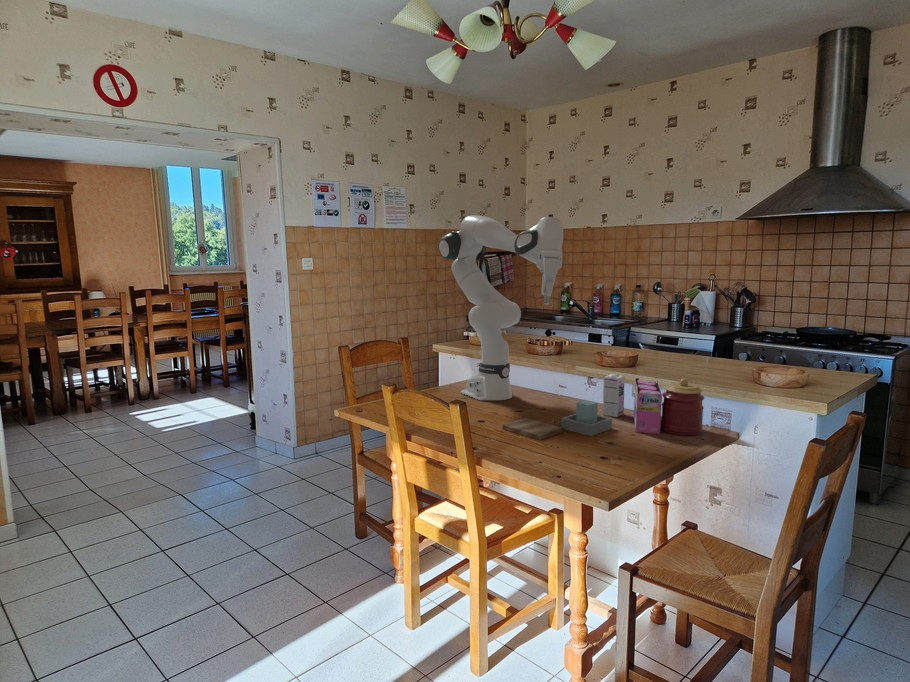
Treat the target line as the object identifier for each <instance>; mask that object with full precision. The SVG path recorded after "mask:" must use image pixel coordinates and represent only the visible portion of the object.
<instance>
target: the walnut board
mask: <svg viewBox="0 0 910 682" xmlns="http://www.w3.org/2000/svg"><path fill="white" fill-rule="evenodd" d="M502 430H504V431H507V432H511V433H514V434H518V435H522V436H525V437H528V438H531V439H535V440H537V441H542V440H544V439H547V438H550V437H553V436H555V435H558V434H562V433H563V432H564V429H563V428H562V427H561V426H558V425H555V424H554V425H553V424H550V423H548V422H543V421H539V420H535V419H532V418H528V417H524V418H520V419H517V420H514V421H511V422H508V423H504V424H502Z"/></svg>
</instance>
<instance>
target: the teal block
mask: <svg viewBox="0 0 910 682" xmlns="http://www.w3.org/2000/svg"><path fill="white" fill-rule="evenodd" d="M575 406H576V409H575V411H576V412H575V414H576V421H579V422H582V423H586V424H590V425H591V424H593V423H596V422H597V415H598V408H599V407H598V406H599V402H596V401H591V400H587V399H582V400H581V401H576V403H575Z"/></svg>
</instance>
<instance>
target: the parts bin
mask: <svg viewBox="0 0 910 682" xmlns="http://www.w3.org/2000/svg"><path fill="white" fill-rule="evenodd" d="M560 419H561V420H560V427H562V428H563V430H567V431H569V432H570V431H571V432H574V433H577V434H582V435H584V436H589V437H594V436H595V435H599V434H601V433H603V432H606V431H608V430H611V429H612V428H613V427H612V426H613V417H609V416H605V415H599V414H597V422H596V423H593V424H591V425H590V424H586V423H582V422H579V421H576V413H573V414H570V415H566V416H564V417H561V418H560Z"/></svg>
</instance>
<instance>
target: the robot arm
mask: <svg viewBox="0 0 910 682" xmlns="http://www.w3.org/2000/svg"><path fill="white" fill-rule="evenodd" d="M563 243H564V227H563V223H562V222H561V221H560V220H559V219H558V218H556V217H552V216H544V217H541V218H540V219H539V221H538V222H537V223H536V224H535V225H534V226H532V227H530V228H529V229H526V230H523V231H522V232H520V233H519V234H516V233H515V232H513V231H512V230H510V229H509V228H508V227H507V226H505V225H503V224H502V223H501V222H500V221H497V220H495V219H494V218H492V217H488V216H485V215H469V216H468V215H467V216H466V217H465V218H464V219H463V220H462V222H461V224H460V229H459V231H454V230H453V231H451V232H448V233H446V234H445V235H443V236H442V237H441V238H440V240H439V242H438V251H439V254H440V256H441V257H442V259H445V260H447V261H453V262H452V264H451V272H452V276H453V277H454V280H455V281H456V283H457V285H458V286H459V287H460V288H459V289H460V290H461V291H462V292H463V294H464V295H465V297H466V299H467V300H468V301H469V302H470V303H471V304H473V305H475V306H473V307H472V308H471V309H470V310H469V313H468V322H469V325H470V327H472V329H474V330H475V331H476V334H477V335H478V338H479V340H480V346H481V347H480V348H481V362H480V363H478V364H477V365H476V367H478V371H477V372H475V373H474V374H473V375H471V376H470V377H469V378H468V379H467V381H466V388H464V389H462V390H461V391H460V394H461V393H462V394H461V395H464V394H465V395H464V396H466V395H468V396H467V397H469V396H470V397H469V398H471V397H473V398H472V399H474V398H475V400H477V399H478V400H477V401H505V400H510V399H512V398H513V394H512V393H513V392H512V389H511V381H510V369H511V368H510V367H511V365H510V361H509V359H510V358H509V357H510V355H509V354H510V350H509V349H510V347H509V346H510V344H509V343H508V341H507V340H505V339H504V338H503V335H502V331H501V329H507V328H510V327H513V326H515V325H517V324H518V323H519V322H520V320H521V317H522V310H521V308H520V306H519V305H518V304H517V303H516V302H513V301H511V300H509V299H508V298H507V297H505V296H504V295H502V293H500V292H499V291H498V290H497V289H495V288H494V287H493V285H492V284H491V283H490V282H489V280H488V279H487V277H486V276H485V274H484V273H483V271H482V270H481V268H480V267H479V266H478V265H477V260H480V259H482V258H483V255H484V254H485V252H486V251H487V249H488V248H491V249H497V250H501V251H508V252H511V253H515V254H518V256H520V257H522V258H524V259H525V260H528V261H530V262H532V263H534V264H535V266H536V268H537V269H538V270H539V272H540V273H542V276H541V277H542V278H541V290H540V291H541V292H540V293H541V295H542V296H543V305H545V306H547V305H550V299H551V296H552V293H553V289H554V287H555V286H554V285H555V281H556V277H557V274H558V273H559V270H561V268H562V267H563V255H564V254H563V249H562V247H563Z"/></svg>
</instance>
